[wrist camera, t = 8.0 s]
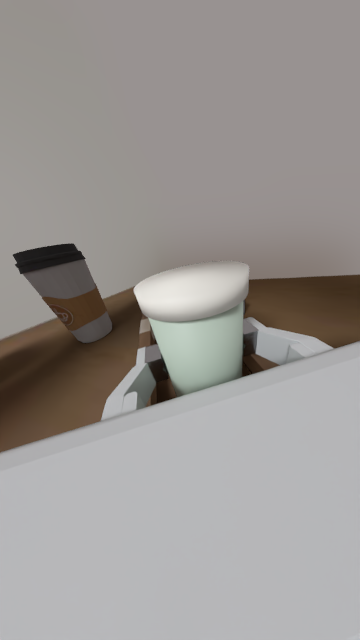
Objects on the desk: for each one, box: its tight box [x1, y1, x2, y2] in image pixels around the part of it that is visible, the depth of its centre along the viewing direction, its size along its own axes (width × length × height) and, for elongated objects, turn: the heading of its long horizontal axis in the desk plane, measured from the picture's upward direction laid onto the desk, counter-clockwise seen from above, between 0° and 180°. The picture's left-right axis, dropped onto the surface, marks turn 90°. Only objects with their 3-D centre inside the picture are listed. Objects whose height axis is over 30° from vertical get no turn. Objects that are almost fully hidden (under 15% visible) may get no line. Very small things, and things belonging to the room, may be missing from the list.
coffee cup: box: [13, 244, 112, 343], centre depth 24 cm, size 8×8×15 cm
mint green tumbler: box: [134, 261, 249, 397], centre depth 10 cm, size 5×5×11 cm
